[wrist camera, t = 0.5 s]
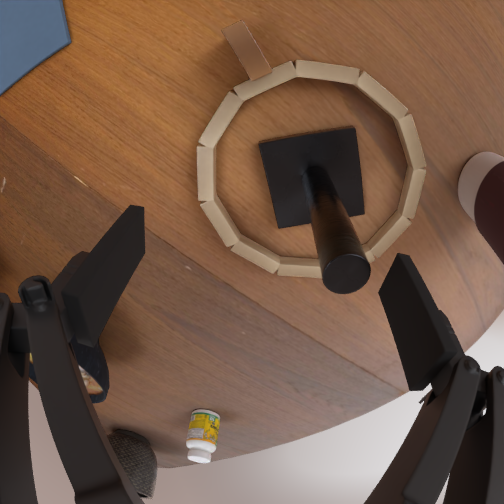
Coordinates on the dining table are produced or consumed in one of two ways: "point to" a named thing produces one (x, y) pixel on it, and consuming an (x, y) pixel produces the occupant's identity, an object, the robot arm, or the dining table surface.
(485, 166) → the coffee cup
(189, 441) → the supplement bottle
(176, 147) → the dining table surface
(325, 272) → the post on square base
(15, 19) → the mat
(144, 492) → the planter
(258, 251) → the segmented ring with tab
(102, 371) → the bowl
